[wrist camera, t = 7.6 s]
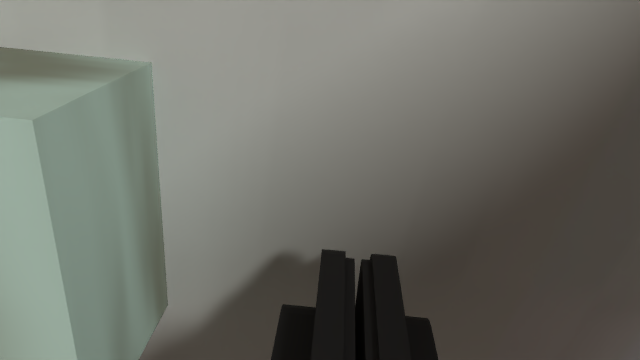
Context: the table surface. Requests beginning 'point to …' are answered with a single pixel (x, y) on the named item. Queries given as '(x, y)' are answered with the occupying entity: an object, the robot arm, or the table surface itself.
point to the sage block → (78, 208)
